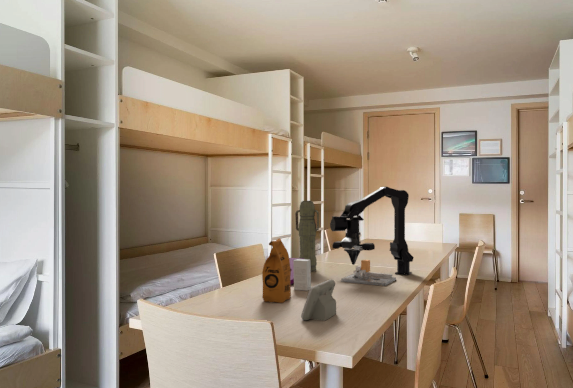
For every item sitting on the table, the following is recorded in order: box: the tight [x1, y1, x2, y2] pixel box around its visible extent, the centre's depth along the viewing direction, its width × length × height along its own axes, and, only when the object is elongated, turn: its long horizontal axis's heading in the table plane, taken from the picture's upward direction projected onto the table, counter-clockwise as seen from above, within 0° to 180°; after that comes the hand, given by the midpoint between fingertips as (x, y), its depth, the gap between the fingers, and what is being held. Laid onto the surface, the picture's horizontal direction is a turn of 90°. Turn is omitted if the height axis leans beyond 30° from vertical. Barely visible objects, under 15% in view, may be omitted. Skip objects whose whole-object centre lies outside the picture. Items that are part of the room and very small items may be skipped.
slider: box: [360, 259, 371, 277], centre depth 201 cm, size 7×3×7 cm, turn 148°
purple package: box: [289, 257, 304, 285], centre depth 199 cm, size 9×8×18 cm
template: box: [340, 265, 397, 287], centre depth 197 cm, size 14×20×5 cm
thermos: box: [294, 200, 320, 272], centre depth 226 cm, size 9×12×35 cm
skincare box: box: [293, 259, 312, 292], centre depth 182 cm, size 6×4×12 cm
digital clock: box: [300, 279, 337, 322], centre depth 143 cm, size 16×9×11 cm, turn 139°
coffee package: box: [261, 238, 292, 304], centre depth 166 cm, size 10×12×22 cm
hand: (353, 264), depth 206 cm, fingers closed
